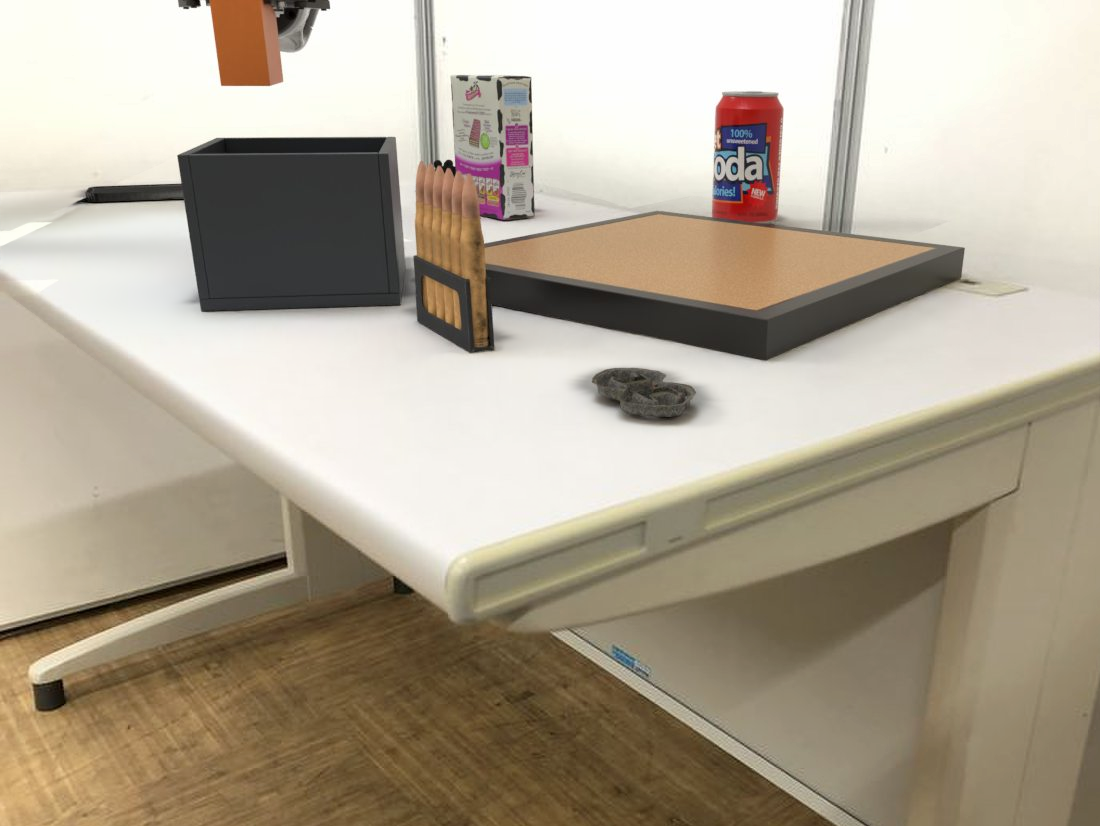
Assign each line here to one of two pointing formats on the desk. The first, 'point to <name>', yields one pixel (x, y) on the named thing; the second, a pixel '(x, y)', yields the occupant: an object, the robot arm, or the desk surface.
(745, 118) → the soda can
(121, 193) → the phone
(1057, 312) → the desk surface
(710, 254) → the cork board
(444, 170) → the wireless earbuds
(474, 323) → the ammunition clip
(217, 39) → the block
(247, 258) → the trash can
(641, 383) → the corroded twin loop
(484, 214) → the candy bar box
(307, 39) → the robot arm
